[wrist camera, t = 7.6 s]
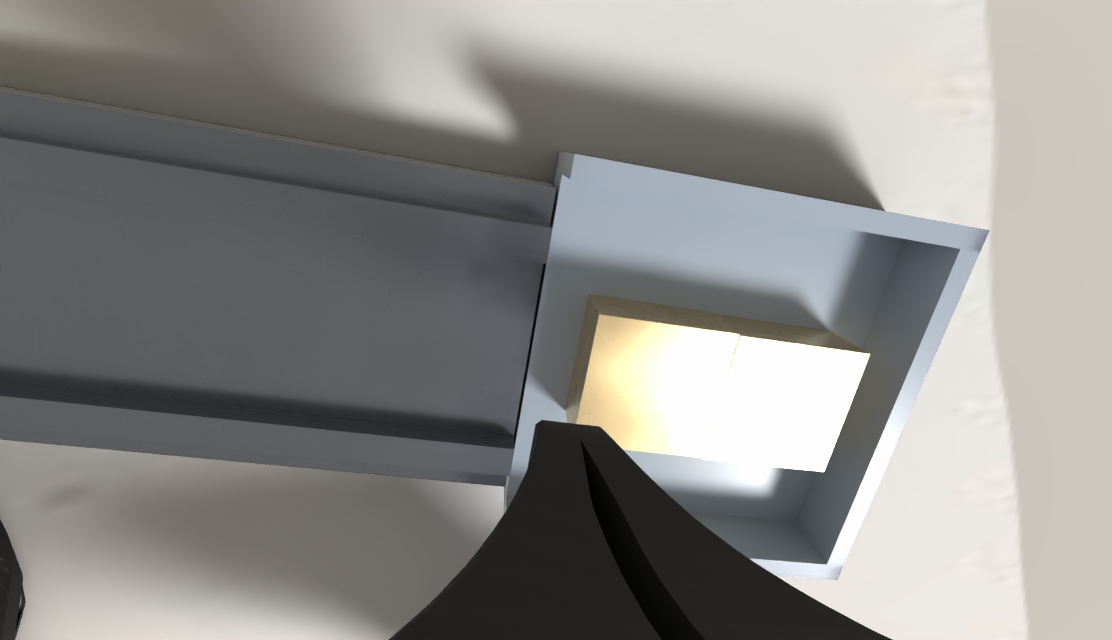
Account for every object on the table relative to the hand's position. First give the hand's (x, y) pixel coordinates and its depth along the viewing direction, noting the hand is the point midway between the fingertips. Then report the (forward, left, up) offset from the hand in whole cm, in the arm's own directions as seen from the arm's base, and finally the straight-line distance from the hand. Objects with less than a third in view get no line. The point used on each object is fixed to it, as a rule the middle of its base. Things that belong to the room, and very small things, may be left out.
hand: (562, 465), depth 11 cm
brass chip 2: (-7, 0, -6) cm, 9 cm away
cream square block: (-3, 0, -6) cm, 7 cm away
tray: (-5, 0, -8) cm, 9 cm away
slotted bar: (+10, 0, -8) cm, 13 cm away
